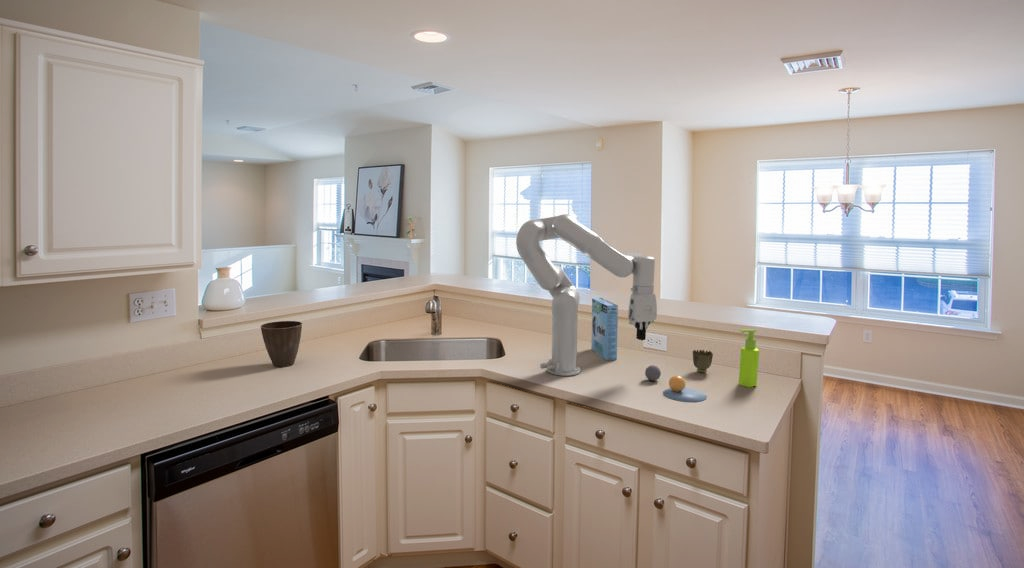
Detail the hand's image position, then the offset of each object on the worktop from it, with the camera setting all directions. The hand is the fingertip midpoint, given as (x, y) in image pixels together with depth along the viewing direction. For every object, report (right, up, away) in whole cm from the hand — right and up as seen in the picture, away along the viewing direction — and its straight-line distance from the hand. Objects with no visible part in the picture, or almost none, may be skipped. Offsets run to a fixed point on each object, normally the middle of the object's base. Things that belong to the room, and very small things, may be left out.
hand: (640, 339), depth 206 cm
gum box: (-9, -10, +33) cm, 35 cm away
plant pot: (-137, -11, +13) cm, 138 cm away
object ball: (+9, -14, -15) cm, 22 cm away
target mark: (+11, -17, -18) cm, 27 cm away
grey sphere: (+4, -12, -3) cm, 13 cm away
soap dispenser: (+36, -16, -7) cm, 40 cm away
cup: (+25, -14, +8) cm, 30 cm away
